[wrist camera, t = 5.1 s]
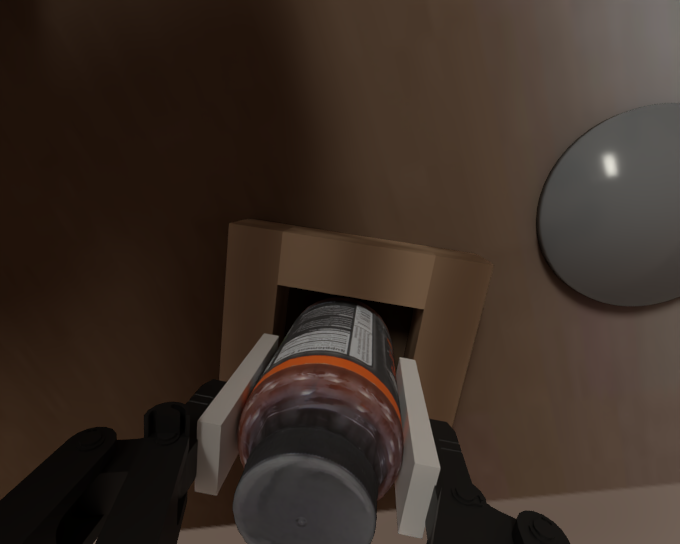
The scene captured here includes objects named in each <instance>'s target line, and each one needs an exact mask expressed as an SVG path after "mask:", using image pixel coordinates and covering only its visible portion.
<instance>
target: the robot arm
mask: <svg viewBox="0 0 680 544" xmlns="http://www.w3.org/2000/svg"><path fill="white" fill-rule="evenodd" d="M278 341H279V336H276V335H271V334H265V333H264V334H263V335H262V337H261V338H260V339H259V341H258V342H257V343H256V345H255V346H254V347H253V349H252V350H251V351H250V352H249V354H248V355H247V356H246V358H245V359H244V360H243V362H242V363H241V364H240V366H239V367H238V368H237V370H236V371H235V372H234V374H233V375H232V376H231V377H230V379H229V380H228V381H227V382H226V381H220V380H215V379H212V380H211V381H209V382H207V383H205V384H204V385H202V386H201V387H200V388H199V389H198V391H197V392H196V393H195V395H193V396H192V397H191V399H190V400H189V402H187V403H186V404H183V403H179V402H167V403H162V404H159V405H156V406H154V407H153V408H151V409H149V410H148V411H147V413H146V414H145V415H144V438H140V439H129V440H117V439H116V432H115V431H114V430H113V429H110V428H107V427H95V428H90V429H86V430H84V431H81V432H79V433H77V434H75V435H74V436H72V437H71V438H70V439H68V440H67V441H66V442H65V443H64V444H63V445H62V446H61V447H59V448H58V449H57V450H56V451H55V452H54V453H53V454H52V455H50V456H49V457H48V458H47V459H46V460H45V461H44V462H43V463H42V464H40V465H39V466H38V467H37V468H36V469H35V470H34V471H33V472H32V473H30V474H29V475H28V476H27V477H26V478H25V479H24V480H23V481H21V482H20V483H19V484H18V485H17V486H16V487H15V488H14V489H13V490H11V491H10V492H9V493H8V494H7V495H6V496H5V497H4V498H3V499H1V500H0V544H93V543H94V541H95V540H96V539H97V541H96V543H95V544H177V540H178V536H179V532H180V528H181V524H182V520H183V516H184V512H185V507H186V503H187V490H188V489H189V487H190V485H191V484H192V482H193V481H194V479H195V491H196V492H200V493H205V494H210V495H215V496H217V494H218V492H219V490H220V488H221V486H222V484H223V483H224V481H225V479H226V477H227V475H228V473H229V471H230V469H231V467H232V465H233V463H234V461H235V459H236V457H237V455H238V453H239V452H238V443H237V434H238V425H239V420H240V416H241V414H242V411H243V409H244V406H245V404H246V402H247V400H248V398H249V396H250V395H251V393H252V391H253V389H254V388H255V385H256V384H257V382H258V381H259V379H260V378H261V376H262V374H263V373H264V371H265V369H266V368H267V366H268V364H269V363H270V361H271V359H272V358H273V356H274V354H275V353H276V351H277V349H278ZM396 381H397V386H398V395H399V403H400V411H401V423H402V430H403V438H404V441H403V445H404V449H403V458H402V465H401V467H400V470H399V472H398V476H397V478H396V480H395V495H396V510H397V525H398V534H403V535H407V536H412V537H416V538H421V539H422V536H423V533H424V529H425V525H426V531H427V539H428V540H427V544H570V542H569V540H568V538H567V537H566V535H565V534H564V533H563V531H562V530H561V529H560V528H559V527H558V526H557V525H556V524H555V523H554V522H553V521H551V520H550V519H549V518H547V517H545V516H544V515H542V514H539V513H537V512H534V511H523V512H521V513H519V515H518V517H517V519H515V518H513V517H511V516H508V515H506V514H504V513H502V512H500V511H498V510H496V509H494V508H493V507H491V506H490V505H488V504H487V503H486V499H485V497H484V496H483V494H482V492H481V491H480V490H479V489H478V488H477V487H475V486H474V485H473V484H472V482H471V479H470V476H469V473H468V470H467V467H466V464H465V461H464V457H463V454H462V453H461V448H460V445H459V444H458V439H457V436H456V433H455V431H454V430H453V429H452V427H451V426H450V425H449V424H448V423H447V422H445V421H439V420H434V419H429V417H428V413H427V408H426V404H425V400H424V395H423V391H422V387H421V382H420V378H419V374H418V370H417V365H416V361H415V360H412V359H407V358H401V357H400V358H399V363H398V367H397V372H396ZM97 537H98V538H97Z"/></svg>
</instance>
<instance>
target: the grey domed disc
mask: <svg viewBox="0 0 680 544" xmlns="http://www.w3.org/2000/svg"><path fill="white" fill-rule="evenodd" d="M536 226H537V236H538V241H539V245H540V248H541V251H542V253H543V256H544V258H545V260H546V261H547V263H548V265H549V267H550V268H551V269H552V270H553V272H554V273H555V274H556V275H557V276H558V277H559V278H560V279H561V280H562V281H563V282H564V283H565V284H567V285H568V286H569V287H571V288H572V289H574V290H576V291H577V292H579V293H581V294H583V295H585V296H587V297H589V298H591V299H594V300H597V301H600V302H603V303H607V304H612V305H619V306H645V305H653V304H657V303H662V302H666V301H669V300H672V299H675V298H678V297H680V103H664V104H654V105H649V106H644V107H640V108H636V109H633V110H630V111H627V112H624V113H621V114H618V115H616V116H613V117H611V118H609V119H607V120H605V121H603V122H601V123H599V124H598V125H596V126H594V127H593V128H591V129H590V130H588V131H587V132H586V133H584V134H583V135H582V136H580V137H579V138H578V139H577V140H576V141H575V142H574V143H573V144H572V145H571V146H570V147H569V148H568V149H567V150H566V151H565V152H564V153H563V154H562V156H561V157H560V158H559V159H558V161H557V162H556V164H555V165H554V167H553V168H552V170H551V171H550V173H549V175H548V177H547V179H546V181H545V183H544V186H543V189H542V192H541V195H540V198H539V203H538V208H537V218H536Z"/></svg>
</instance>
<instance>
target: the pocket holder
mask: <svg viewBox="0 0 680 544" xmlns="http://www.w3.org/2000/svg"><path fill="white" fill-rule="evenodd" d="M493 268H494V265H493V264H492V263H490V262H489V261H487V260H485V259H484V258H482V257H481V256H479V255H477V254H475V253H468V252H462V251H455V250H449V249H443V248H436V247H430V246H423V245H417V244H411V243H404V242H398V241H392V240H385V239H379V238H372V237H366V236H360V235H353V234H347V233H340V232H334V231H328V230H321V229H315V228H308V227H302V226H296V225H289V224H283V223H276V222H270V221H264V220H257V219H251V218H250V219H246V220H241V221H236V222H232V223H229V230H228V246H227V262H226V278H225V294H224V309H223V325H222V341H221V357H220V373H219V380H220V381H226V382H227V381H228V380H229V379H230V377H231V376H232V375H233V374H234V372H235V371H236V370H237V368H238V367H239V366H240V364H241V363H242V362H243V360H244V359H245V358H246V356H247V355H248V354H249V352H250V351H251V350H252V349H253V347H254V346H255V345H256V343H257V342H258V341H259V339H260V338H261V337H262V335H263V334H264V333H265V334H271V335H276V336H279V341H278V348H279V346H280V345H281V343H282V341H283V340H284V334H285V325H286V316H287V307H288V298H289V289H290V287H294V288H300V289H305V290H311V291H317V292H323V293H329V294H335V295H341V296H347V297H353V298H359V299H365V300H371V301H377V302H383V303H389V304H394V305H400V306H406V307H412V308H414V310H413V315H412V319H411V324H410V329H409V334H408V339H407V344H406V348H405V353H404V358H407V359H412V360H415V361H416V365H417V370H418V374H419V378H420V382H421V387H422V391H423V395H424V400H425V404H426V408H427V413H428V417H429V419H434V420H439V421H445V422H447V423H448V424H449V425H450V426H451V427H452V425H453V422H454V418H455V414H456V410H457V406H458V402H459V399H460V395H461V391H462V387H463V383H464V379H465V375H466V372H467V368H468V364H469V360H470V356H471V352H472V348H473V345H474V341H475V337H476V333H477V329H478V325H479V322H480V318H481V314H482V310H483V306H484V302H485V298H486V295H487V291H488V287H489V283H490V279H491V275H492V272H493Z"/></svg>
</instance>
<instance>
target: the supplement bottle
mask: <svg viewBox="0 0 680 544" xmlns="http://www.w3.org/2000/svg"><path fill="white" fill-rule="evenodd" d="M403 441H404V438H403V430H402V423H401V411H400V403H399V395H398V386H397V381H396V372H395V362H394V353H393V346H392V340H391V337H390V334H389V331H388V328H387V326H386V324H385V323H384V321H383V320H382V318H381V316H380V315H379V314H378V313H377V312H376V311H375V310H373V309H372V308H371V307H369V306H368V305H366V304H364V303H362V302H360V301H358V300H355V299H352V298H346V297H333V298H326V299H323V300H320V301H318V302H315V303H314V304H312V305H310V306H309V307H307V308H306V309H305V310H304V311H303V312H302V313H301V314H300V316H299V317H298V318H297V319H296V321H295V322H294V323H293V325H292V327H291V328H290V330H289V332H288V333H287V335H286V337H285V338H284V340H283V341H282V343H281V345H280V346H279V348H278V349H277V351H276V353H275V354H274V356H273V358H272V359H271V361H270V363H269V364H268V366H267V368H266V369H265V371H264V373H263V374H262V376H261V378H260V379H259V381H258V382H257V384H256V385H255V388H254V389H253V391H252V393H251V395H250V396H249V398H248V400H247V402H246V404H245V406H244V409H243V411H242V414H241V416H240V420H239V425H238V434H237V443H238V452H239V456H240V459H241V463H242V465H243V467H244V472H243V474H242V476H241V479H240V481H239V483H238V486H237V488H236V491H235V494H234V501H233V513H234V519H235V523H236V525H237V528H238V530H239V532H240V534H241V535H242V536H243V538H244V540H245V542H246V543H248V544H371V541H372V539H373V536H374V533H375V528H376V519H377V515H376V513H377V501H378V500H380V499H381V498H382V497H383V496H384V494H385V493H386V492H388V490H389V489H390V487H391V486H392V485H393V483H394V481H395V480H396V478H397V476H398V472H399V470H400V467H401V465H402V458H403V449H404V445H403Z"/></svg>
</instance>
